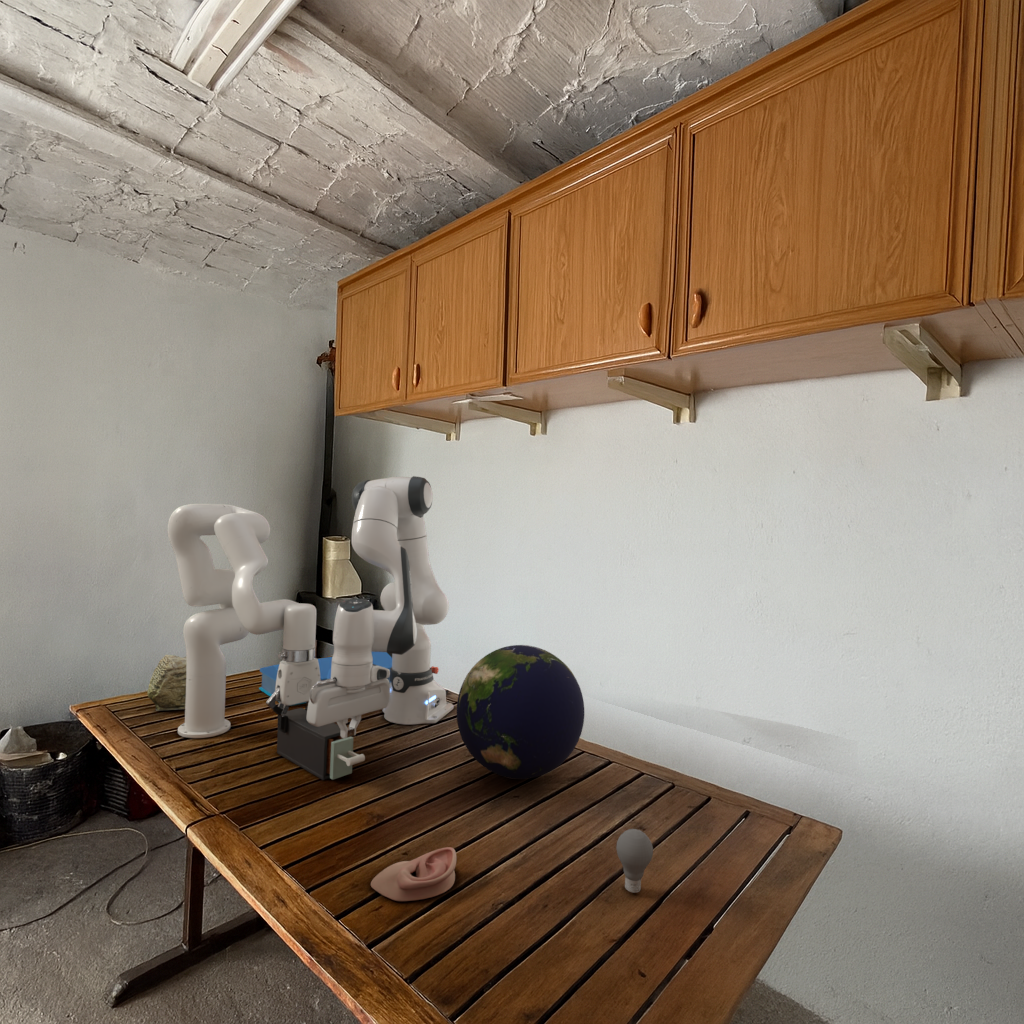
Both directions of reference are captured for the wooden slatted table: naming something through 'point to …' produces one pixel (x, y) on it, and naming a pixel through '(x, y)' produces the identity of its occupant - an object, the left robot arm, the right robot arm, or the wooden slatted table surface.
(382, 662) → the model building
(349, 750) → the drawer
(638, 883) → the light bulb
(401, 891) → the anatomical model
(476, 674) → the globe
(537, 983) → the wooden slatted table surface
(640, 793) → the wooden slatted table surface
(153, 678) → the fossil
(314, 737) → the cabinet
